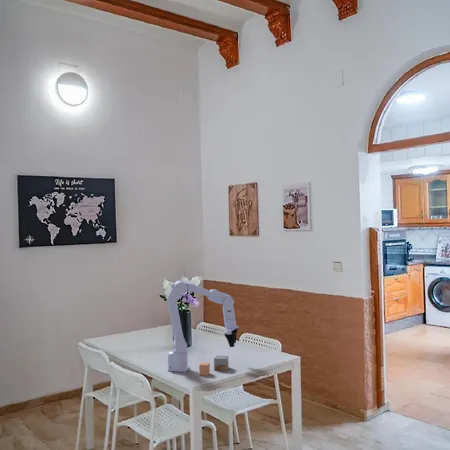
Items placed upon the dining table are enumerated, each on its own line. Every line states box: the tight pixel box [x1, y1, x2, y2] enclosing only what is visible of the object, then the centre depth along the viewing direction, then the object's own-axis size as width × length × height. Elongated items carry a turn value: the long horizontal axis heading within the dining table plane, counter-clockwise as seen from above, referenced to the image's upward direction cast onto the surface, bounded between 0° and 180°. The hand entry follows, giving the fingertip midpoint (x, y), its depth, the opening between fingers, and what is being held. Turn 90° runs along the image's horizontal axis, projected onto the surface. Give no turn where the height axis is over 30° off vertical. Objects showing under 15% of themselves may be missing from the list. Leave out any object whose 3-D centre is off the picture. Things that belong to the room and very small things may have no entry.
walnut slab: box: [213, 362, 229, 372], centre depth 243 cm, size 6×6×3 cm
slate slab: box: [213, 355, 229, 366], centre depth 243 cm, size 6×6×3 cm
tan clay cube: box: [198, 362, 211, 376], centre depth 234 cm, size 4×4×5 cm
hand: (233, 344), depth 248 cm, fingers open, 7 cm apart
